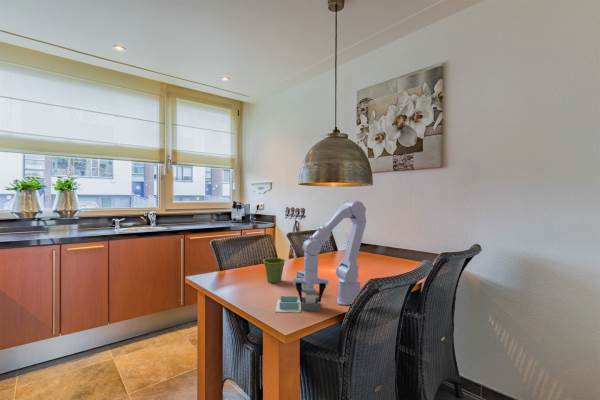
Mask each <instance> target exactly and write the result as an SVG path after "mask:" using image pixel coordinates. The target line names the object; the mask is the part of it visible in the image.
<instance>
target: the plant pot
mask: <svg viewBox="0 0 600 400" xmlns="http://www.w3.org/2000/svg"><path fill="white" fill-rule="evenodd" d="M262 262H263V263H264V267H265V272H266V273H265V274H266V281H267V282H268V283H270V284H273V283H274V284H278V283H280V282H281V281H282V279H283V278H282V276H283V270H284V266H285V263H286V259H284V258H282V257H269V258H264V259H263V261H262Z"/></svg>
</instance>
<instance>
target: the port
mask: <svg viewBox="0 0 600 400" xmlns="http://www.w3.org/2000/svg"><path fill="white" fill-rule="evenodd" d="M298 296H299V295H280V299H277V303H276V307H275V313H291V314H292V313H295V314H296V313H298V314H299V313H302V312H301V311H302V302H300V299H298Z"/></svg>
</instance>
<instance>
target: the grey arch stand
mask: <svg viewBox="0 0 600 400" xmlns="http://www.w3.org/2000/svg"><path fill="white" fill-rule="evenodd" d="M305 302H306V296H302V302H301V311H320V309H321V307H320V302H319V296H317V297H316V302H315V304H312V303H305Z"/></svg>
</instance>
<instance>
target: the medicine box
mask: <svg viewBox="0 0 600 400" xmlns="http://www.w3.org/2000/svg"><path fill="white" fill-rule="evenodd" d="M295 276H296V278H304V270H299V271H296V275H295ZM296 278H295V279H296ZM314 286H315V284H302V292H303V293H306V288H314Z"/></svg>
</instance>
